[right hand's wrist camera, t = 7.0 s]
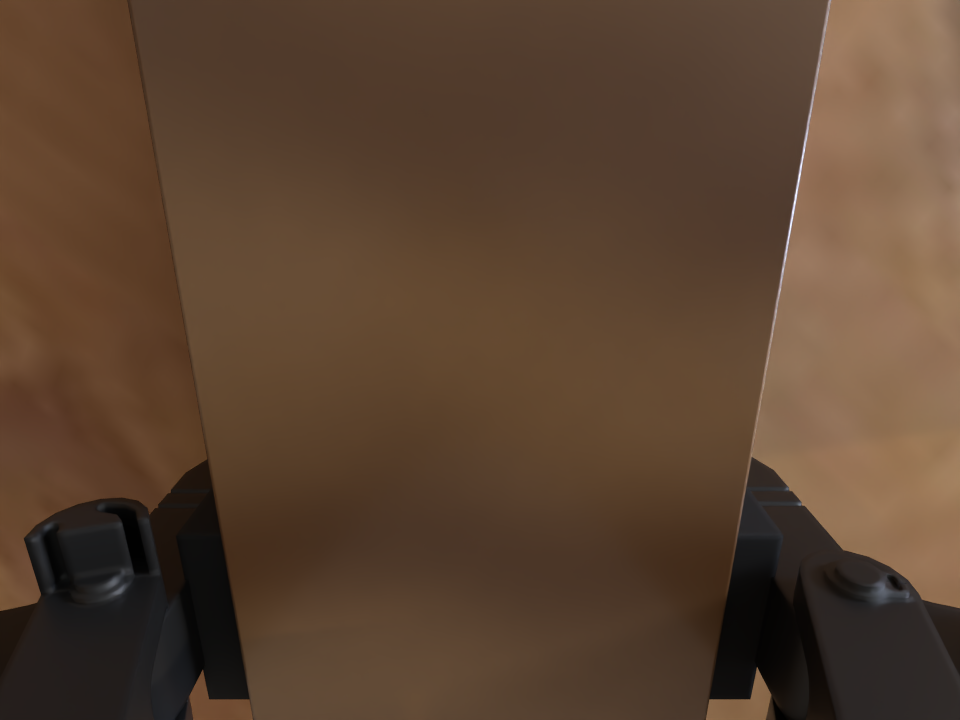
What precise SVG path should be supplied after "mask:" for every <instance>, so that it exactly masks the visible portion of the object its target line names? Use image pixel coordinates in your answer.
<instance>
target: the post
mask: <svg viewBox="0 0 960 720" xmlns="http://www.w3.org/2000/svg"><path fill="white" fill-rule="evenodd" d="M830 5H831V0H128V6H129V12H130V18H131V23H132V29H133V35H134V40H135V46H136V52H137V58H138V63H139V69H140V75H141V81H142V86H143V92H144V98H145V103H146V109H147V115H148V121H149V126H150V132H151V138H152V143H153V149H154V155H155V161H156V166H157V172H158V178H159V184H160V189H161V195H162V201H163V206H164V212H165V218H166V224H167V229H168V235H169V241H170V246H171V252H172V258H173V264H174V269H175V275H176V281H177V286H178V292H179V298H180V304H181V309H182V315H183V321H184V327H185V332H186V338H187V344H188V349H189V355H190V361H191V367H192V372H193V378H194V384H195V389H196V395H197V401H198V407H199V412H200V418H201V424H202V430H203V435H204V441H205V447H206V452H207V458H208V464H209V470H210V475H211V481H212V487H213V492H214V498H215V504H216V510H217V515H218V521H219V527H220V533H221V538H222V544H223V550H224V555H225V561H226V567H227V573H228V578H229V584H230V590H231V595H232V601H233V607H234V613H235V618H236V624H237V630H238V636H239V641H240V647H241V653H242V658H243V664H244V670H245V676H246V681H247V687H248V693H249V698H250V704H251V710H252V716H253V720H706V715H707V709H708V704H709V698H710V692H711V687H712V681H713V675H714V669H715V664H716V658H717V652H718V646H719V641H720V635H721V629H722V623H723V618H724V612H725V606H726V601H727V595H728V589H729V583H730V578H731V572H732V566H733V560H734V555H735V549H736V543H737V538H738V532H739V526H740V520H741V515H742V509H743V503H744V497H745V492H746V486H747V480H748V474H749V469H750V463H751V457H752V452H753V446H754V440H755V434H756V429H757V423H758V417H759V411H760V406H761V400H762V394H763V388H764V383H765V377H766V371H767V366H768V360H769V354H770V348H771V343H772V337H773V331H774V325H775V320H776V314H777V308H778V303H779V297H780V291H781V285H782V280H783V274H784V268H785V262H786V257H787V251H788V245H789V239H790V234H791V228H792V222H793V217H794V211H795V205H796V199H797V194H798V188H799V182H800V176H801V171H802V165H803V159H804V154H805V148H806V142H807V136H808V131H809V125H810V119H811V113H812V108H813V102H814V96H815V90H816V85H817V79H818V73H819V68H820V62H821V56H822V50H823V45H824V39H825V33H826V27H827V22H828V16H829V10H830Z"/></svg>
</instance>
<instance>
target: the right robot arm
mask: <svg viewBox="0 0 960 720" xmlns="http://www.w3.org/2000/svg"><path fill="white" fill-rule="evenodd" d="M24 541H25V544H26V547H27V550H28V553H29V557H30V560H31V563H32V566H33V570H34V573H35V576H36V579H37V583H38V586H39V589H40V592H41V597H40V599H39V601H38V603H35V604H31V605H28V606H23V607H18V608H13V609H9V610H4V611H0V720H193V715H192V708H191V704H190V699H189V695H190V693H191V691H192V689H193V687H194V685H195V683H196V682H197V680H198V678H199V676H200V674H201V672H202V670H203V671H204V676H205V681H206V686H207V691H208V696H209V699H250V698H249V693H248V687H247V681H246V676H245V670H244V664H243V658H242V653H241V647H240V641H239V636H238V630H237V624H236V618H235V613H234V607H233V601H232V595H231V590H230V584H229V578H228V573H227V567H226V561H225V555H224V550H223V544H222V538H221V533H220V527H219V521H218V515H217V510H216V504H215V498H214V492H213V487H212V481H211V475H210V470H209V464H208V459H207V460H206V461H204V462H202V463H201V464H199V465H198V466H196V467H194V468H193V469H191V470H189V471H188V472H186V473H185V474H184V475H183V477H182V478H181V479H180V480H179V481H178V482H177V484H176V485H175V486H174V487H173V488H172V489H171V493H168V494H167V495H166V496H165V498H164V499H163V500H162V501H161V502H160V503H159V507H158V508H155V509H154V510H153V512H152V513H151V514H150V515H149V513H148V509H147V507H146V506H144V505H143V504H142V503H140V502H139V501H137V500H131V499H126V498H109V499H99V500H94V501H90V502H86V503H82V504H78V505H75V506H73V507H70V508H68V509H65V510H63V511H60V512H58V513H55V514H54V515H52V516H50V517H49V518H47V519H46V520H44V521H42V522H41V523H39V524H38V525H36V526H35V527H34V528H33V529H32V530H31V531H30V532H29V534H28V535H27V536H26V537H25V538H24ZM757 668H758V669H759V671H760V673H761V675H762V677H763V679H764V681H765V683H766V685H767V687H768V689H769V691H770V693H771V699H770V704H769V708H768V713H767V717H766V720H960V608H955V607H951V606H946V605H941V604H936V603H932V602H928V601H924V600H922V599H921V597H920V595H919V594H918V592H917V591H916V590H915V589H914V587H913V586H912V585H911V584H910V582H909V581H908V580H907V579H906V578H904V577H903V576H902V575H900V574H899V573H897V572H896V571H895V570H893V569H892V568H891V567H889V566H887V565H885V564H882V563H880V562H878V561H876V560H874V559H872V558H870V557H867V556H863V555H859V554H856V553H852V552H848V551H843V550H842V549H841V547H840V546H839V545H838V544H837V543H836V542H835V540H834V539H833V538H832V537H831V536H830V535H829V533H828V532H827V531H826V530H825V529H824V528H823V527H822V525H821V524H820V523H819V522H818V521H817V520H816V518H815V517H814V516H813V515H812V514H811V513H810V512H809V510H808V509H807V508H806V507H805V506H802V505H801V501H800V500H799V499H798V498H797V497H796V495H795V494H794V493H793V492H792V491H789V487H788V486H787V485H786V484H785V483H784V482H783V480H782V479H781V478H780V477H779V476H778V475H777V473H776V472H775V471H774V470H772V469H771V468H769V467H767V466H766V465H764V464H763V463H761V462H759V461H758V460H756V459H754V458H753V457H751V463H750V469H749V474H748V480H747V486H746V492H745V497H744V503H743V509H742V515H741V520H740V526H739V532H738V538H737V543H736V549H735V555H734V560H733V566H732V572H731V578H730V583H729V589H728V595H727V601H726V606H725V612H724V618H723V623H722V629H721V635H720V641H719V646H718V652H717V658H716V664H715V669H714V675H713V681H712V687H711V692H710V698H709V699H750V698H751V693H752V688H753V684H754V679H755V674H756V669H757Z"/></svg>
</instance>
